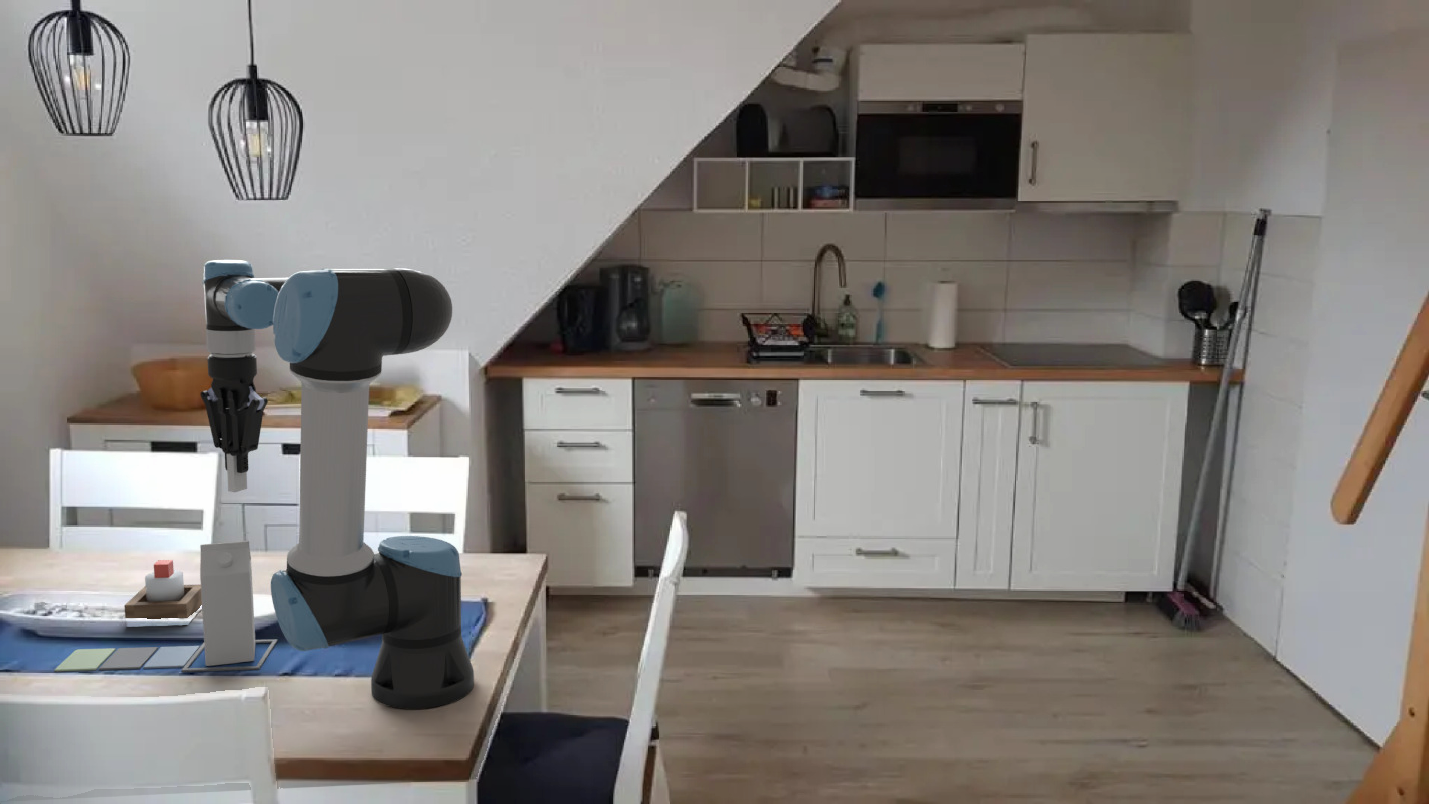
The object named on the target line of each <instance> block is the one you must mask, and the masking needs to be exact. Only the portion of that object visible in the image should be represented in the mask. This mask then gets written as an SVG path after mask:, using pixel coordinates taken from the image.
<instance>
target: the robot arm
mask: <svg viewBox="0 0 1429 804" xmlns="http://www.w3.org/2000/svg"><path fill="white" fill-rule="evenodd" d="M202 285H203V293H204V310H205V311H204V312H205V328H206V329H205V333H206V334H205V335H206V336H205V337H206V339H205V341H206V352H208V353H209V355H208V356H207V374H208V377H210V378H211V379H212V381H211V384H210V388H209V389H207V390H203V391H201V392H200V398H201V400H202V401H203V404H204V406H205V411H206V415H207V419H208V423H209V428H210V432H211V437H212V441H213V442H212V443H213V446H214V447H215V449H218V448H219V449H220V450H222V452H223V453H224V468H225V470H226V471H227V490H228V492H231V493H237V492H240V491H244V490H247V489H248V476H247V472H248V471H249V453H251V452H253V451H257V450H258V448H259V443H260V442H259V441H260V435H261V429H262V423H263V416H264V410H265V408H266V406H267V404H268V398H267V397H266V396H263V397H261V396H260V395H259V394H258V393H257V390H256V386H255V383H254V380H255V377H256V376H257V374H258V364H257V355H256V354H255V353H254V352H255V351H257V348H256V347H257V345H256V330H263V329H267V328H269V327H272V330H273V331H272V332H273V335H274V346H275V349H276V352H277V355H278V356H279V358H281V359H282V360H283V361H285V362H288V363H289V372H290V373H291V374H292V375H294V377H295V378H297V379H298V380H299V381H300V383H301V399H300V401H301V402H300V406H301V407H300V451H299V452H300V453H299V454H300V455H299V457H300V460H299V461H300V462H299V464H300V466H299V506H298V507H299V509H298V510H299V511H298V512H299V513H298V520H299V521H298V543H297V544H295V545H294V546H293V547H292V548H291V549H289V550H288V552H287V555H286V569H285V570H283V569H280V570H278V571H276V572H274V573H273V574H272V576H271V579H270V580H271V581H270V595H271V599H272V601H271V602H272V604H273V605H272V606H273V609H274V613H275V615H276V616H275V617H276V620H277V622H278V624H279V628H280V629H281V632H282V634H283V636H284V638H285V640H286V641H287V643H289V645H290V646H291V647H292V648H293V649H295V650H297V651H300V652H307V651H311V650H312V651H313V650H317V649H329V647H332V646H336V645H341V644H345V643H350V642H354V641H355V642H356V641H358V640H362V639H363V640H364V639H366V638H370V637H371V638H372V637H375V636H380V635H381V645H380V649H379V652H378V655H377V658H376V660H375V665H374V668H373V671H372V675H371V679H370V684H371V686H370V687H371V696H372V697H373V699H374V700H375V701H377V702H378V703H380V704H382V705H384V706H387V707H390V708H391V707H393V708H395V709H396V708H397V709H407V710H408V709H409V710H410V709H411V710H412V709H413V710H415V709H416V710H418V709H429V708H436V707H441V706H444V705H448V704H451V703H453V702H456V701H459V700H460V699H462V698H464V697H466V696H467V695H469V693H470V692H471V691H472V690H473V688H474V685H475V678H474V677H475V673H474V666H473V665H472V662H471V661H472V660H471V659H470V656H469V654H468V651H467V648H466V645H465V642H464V641H463V640H464V639H463V637H462V587H461V586H462V579H461V577H462V571H461V563H460V562H461V561H460V553H459V551H458V549H457V548H456V546H454V545H453V544H452V543H450V542H448V541H445V540H442V539H438V538H435V537H429V536H419V535H417V536H416V535H401V536H399V535H397V536H391V537H387V538H385V539H383V540H381V541H380V543H379V544H378V547H377V551H378V553H375V552H374V550H373V549H372V548H371V547H370V546H369V545H368V544H367V543H366V542H364V538H365V535H364V534H365V510H366V507H365V505H366V482H367V480H366V479H367V457H368V456H367V453H368V431H369V430H368V429H369V428H368V425H369V403H370V402H369V399H370V384H371V383H372V382H374V380H377V378H379V377H380V376H381V375H382V370H383V369H382V366H383V357H386V356H392V355H393V356H395V355H397V356H398V355H404V354H410V353H416V352H419V351H421V350H422V351H423V350H425V349H426V348H429V347H430V346H432V345H434V344H435V343H437V342H438V341H439V340H440V339H441V338H442V337H443V336H444V334H445V333H446V332H447V331H448V329H449V327H450V324H451V322H452V317H453V303H452V298H451V296H450V294H449V292H448V290H447V289H446V287H445V286H444V285H443V283H441V281H439V280H438V279H437V278H435V277H434V276H432V275H430V274H428V273H426V272H423V271H419V270H415V269H410V268H397V267H396V268H395V267H393V268H327V267H325V268H320V269H317V270H304V271H303V270H301V271H297V272H294V273H293V274H291V275H290V276H289V277H263V278H262V277H261V278H259V277H258V278H255V275H254V270H253V264H252V263H251V262H249V261H247V260H240V259H217V260H216V259H215V260H208V261H207V262H205V263H204V266H203V280H202Z"/></svg>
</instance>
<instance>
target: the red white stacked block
mask: <svg viewBox="0 0 1429 804" xmlns="http://www.w3.org/2000/svg"><path fill="white" fill-rule="evenodd" d="M144 581H145V584H144V585H145V586H146V599H147V602H160V601H178V600H181V599H182V598H183V597H184V585H185V584H184V583H185V582H184V581H185V580H184V572H183V571H181V570H178V569H174V559H166V560H165V559H163V560H160V559H159V560H157V561H156V562H155V563H154V564H153V572H151V573H148V574H147V575H145V577H144Z"/></svg>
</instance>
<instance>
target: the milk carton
mask: <svg viewBox="0 0 1429 804" xmlns="http://www.w3.org/2000/svg"><path fill="white" fill-rule="evenodd" d="M199 548H200V563H199V564H200V568H199V574H200V575H199V577H200V579H199V580H200V584H201V597H202V610H201V613H202V624H203V625H202V628H203V641H204V642H203V643H204V647H205V648H204V658H205V659H204V660H205V666H206V667H211V666H219V665H229V664H230V665H231V664H238V663H245V662H247V663H248V662H254V661H255V654H256V653H255V652H256V643H255V640H256V632H255V631H256V630H255V627H256V626H255V613H254V612H255V610H254V609H255V608H254V607H255V606H254V592H253V590H254V589H253V573H252V571H253V570H252V557H251V548H250V541H249V540H244V541H231V542H220V543H216V542H215V543H205V544H204V543H203V544H200V546H199Z"/></svg>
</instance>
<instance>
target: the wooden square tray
mask: <svg viewBox="0 0 1429 804" xmlns="http://www.w3.org/2000/svg"><path fill="white" fill-rule="evenodd" d="M201 605H202V597H201V583H200V584H184V597H183V598H182V599H181V600H178V601H160V602H147V599H146V585H145V586H144V587H143V588H142V589H140V590H139V591H138V592H137V593H136V594H135V595H134V596H132V597H131V599H129V601H127V602H126V603H125V604H124V606H123V607H124V618H147V619H161V618H188V617H189V616H190V615H192V614H193V613H194V612H196V611H197V610H198V609H199V608H200V606H201Z"/></svg>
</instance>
